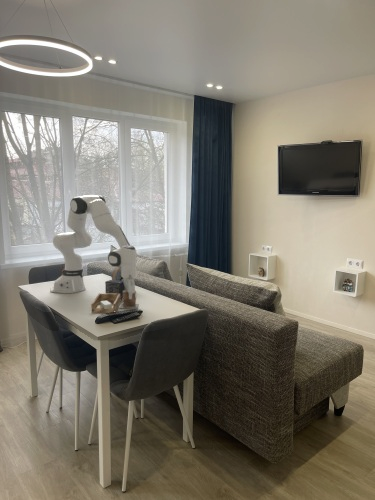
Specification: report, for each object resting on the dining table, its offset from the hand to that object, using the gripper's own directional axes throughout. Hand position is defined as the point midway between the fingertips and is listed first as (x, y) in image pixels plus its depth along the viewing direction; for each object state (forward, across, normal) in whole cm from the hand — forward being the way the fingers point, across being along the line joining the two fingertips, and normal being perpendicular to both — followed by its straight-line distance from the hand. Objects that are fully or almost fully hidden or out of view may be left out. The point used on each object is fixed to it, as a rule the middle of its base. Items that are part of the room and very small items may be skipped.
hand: (129, 296), depth 213 cm
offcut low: (+6, -4, +14) cm, 16 cm away
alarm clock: (+6, +37, 0) cm, 38 cm away
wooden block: (+5, 0, 0) cm, 5 cm away
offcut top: (+4, -4, +14) cm, 15 cm away
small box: (+6, +21, +6) cm, 23 cm away
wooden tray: (+6, +3, +13) cm, 14 cm away
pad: (+6, 0, 0) cm, 6 cm away
